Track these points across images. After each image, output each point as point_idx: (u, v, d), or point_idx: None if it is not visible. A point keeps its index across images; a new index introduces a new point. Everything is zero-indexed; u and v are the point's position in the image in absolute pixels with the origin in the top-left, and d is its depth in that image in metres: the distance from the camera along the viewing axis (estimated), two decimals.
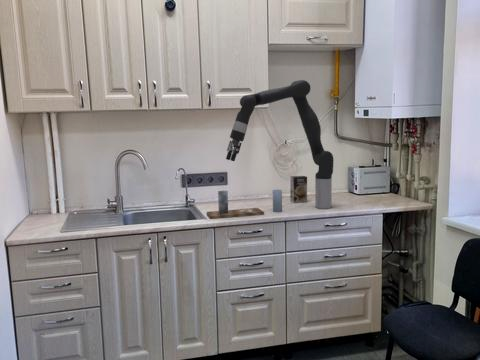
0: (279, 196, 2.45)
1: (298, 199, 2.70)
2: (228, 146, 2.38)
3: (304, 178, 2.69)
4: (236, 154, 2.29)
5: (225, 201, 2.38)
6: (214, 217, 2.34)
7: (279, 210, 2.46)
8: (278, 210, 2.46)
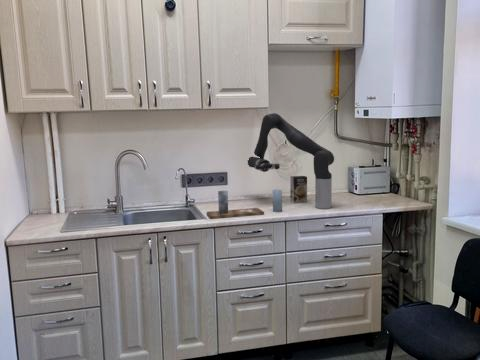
0: (279, 196, 2.45)
1: (298, 199, 2.70)
2: None
3: (304, 178, 2.69)
4: (260, 166, 2.58)
5: (225, 201, 2.38)
6: (214, 217, 2.34)
7: (279, 210, 2.46)
8: (278, 210, 2.46)
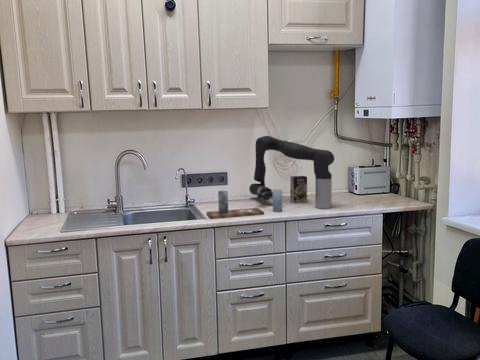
0: (279, 196, 2.45)
1: (298, 199, 2.70)
2: None
3: (304, 178, 2.69)
4: (262, 195, 2.58)
5: (225, 201, 2.38)
6: (214, 217, 2.34)
7: (279, 210, 2.46)
8: (278, 210, 2.46)
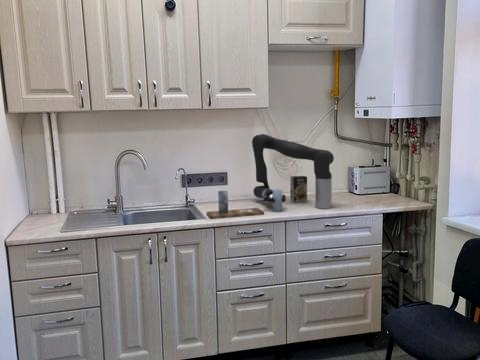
0: (279, 196, 2.45)
1: (298, 199, 2.70)
2: None
3: (304, 178, 2.69)
4: (270, 198, 2.48)
5: (225, 201, 2.38)
6: (214, 217, 2.34)
7: (279, 210, 2.46)
8: (278, 210, 2.46)
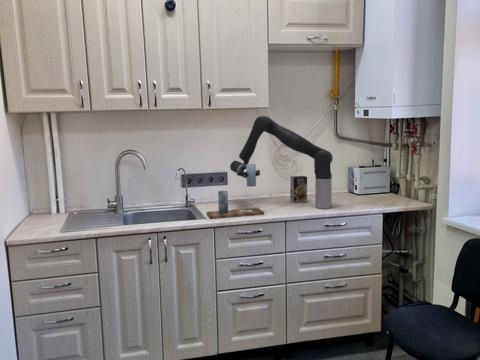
0: (253, 170, 2.40)
1: (298, 199, 2.70)
2: None
3: (304, 178, 2.69)
4: (244, 172, 2.42)
5: (225, 201, 2.38)
6: (214, 217, 2.34)
7: (253, 184, 2.41)
8: (252, 184, 2.40)
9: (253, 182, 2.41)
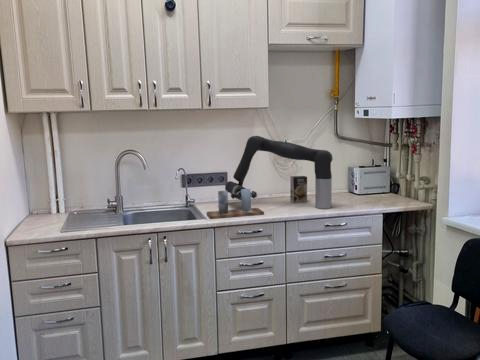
0: (247, 195, 2.40)
1: (298, 199, 2.70)
2: None
3: (304, 178, 2.69)
4: (236, 194, 2.43)
5: (225, 201, 2.38)
6: (214, 217, 2.34)
7: (247, 209, 2.41)
8: (246, 209, 2.41)
9: (248, 207, 2.41)
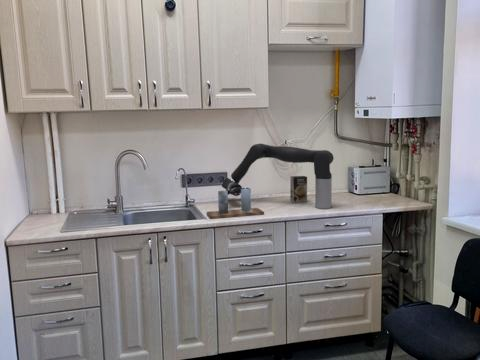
0: (247, 195, 2.40)
1: (298, 199, 2.70)
2: None
3: (304, 178, 2.69)
4: (231, 190, 2.56)
5: (225, 201, 2.38)
6: (214, 217, 2.34)
7: (247, 209, 2.41)
8: (246, 209, 2.41)
9: (248, 207, 2.41)
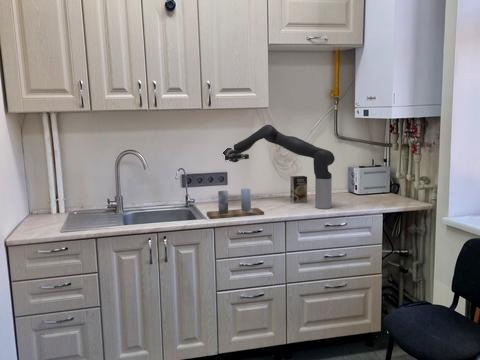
0: (247, 195, 2.40)
1: (298, 199, 2.70)
2: None
3: (304, 178, 2.69)
4: (229, 156, 2.58)
5: (225, 201, 2.38)
6: (214, 217, 2.34)
7: (247, 209, 2.41)
8: (246, 209, 2.41)
9: (248, 207, 2.41)
